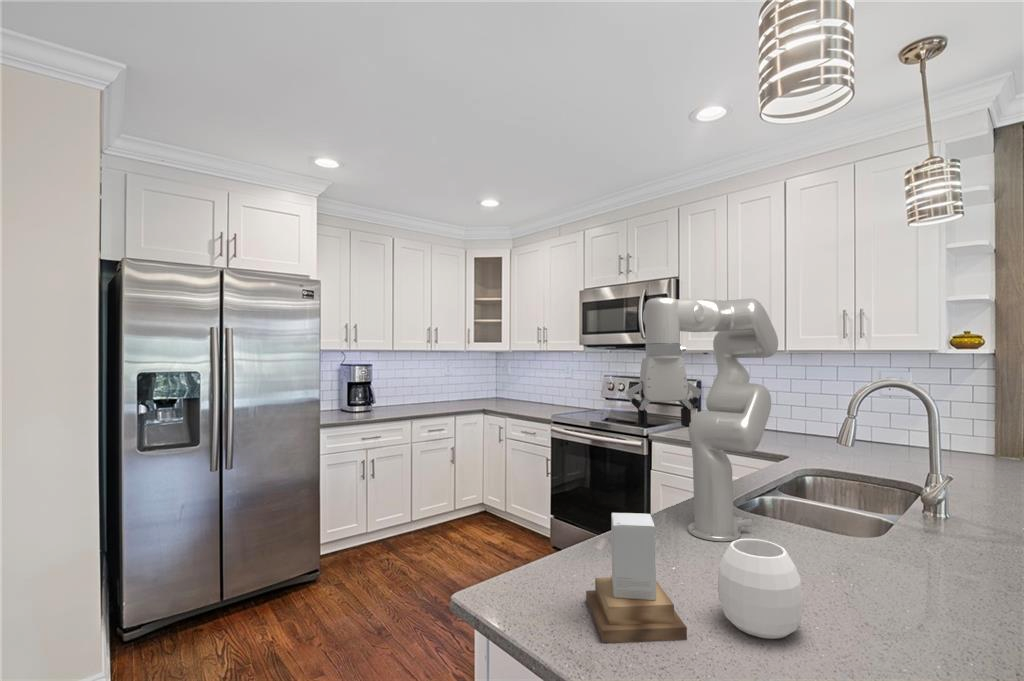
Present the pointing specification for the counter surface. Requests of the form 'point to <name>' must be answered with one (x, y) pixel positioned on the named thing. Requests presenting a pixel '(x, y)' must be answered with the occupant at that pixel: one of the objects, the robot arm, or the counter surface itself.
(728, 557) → the white vase
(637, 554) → the supplement box
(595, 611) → the plinth
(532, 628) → the counter surface
